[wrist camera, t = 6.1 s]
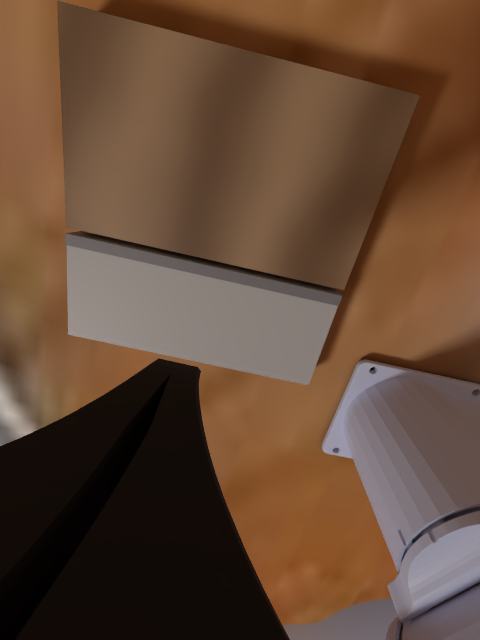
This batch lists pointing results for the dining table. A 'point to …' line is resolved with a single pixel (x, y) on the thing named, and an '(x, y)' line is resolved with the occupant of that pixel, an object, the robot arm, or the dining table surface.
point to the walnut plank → (221, 148)
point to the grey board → (196, 308)
